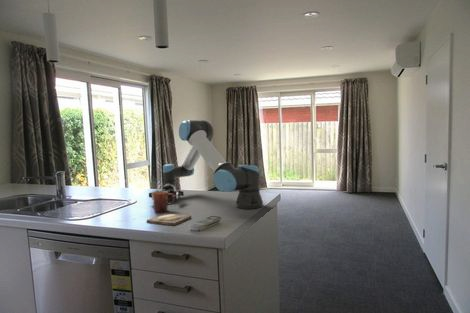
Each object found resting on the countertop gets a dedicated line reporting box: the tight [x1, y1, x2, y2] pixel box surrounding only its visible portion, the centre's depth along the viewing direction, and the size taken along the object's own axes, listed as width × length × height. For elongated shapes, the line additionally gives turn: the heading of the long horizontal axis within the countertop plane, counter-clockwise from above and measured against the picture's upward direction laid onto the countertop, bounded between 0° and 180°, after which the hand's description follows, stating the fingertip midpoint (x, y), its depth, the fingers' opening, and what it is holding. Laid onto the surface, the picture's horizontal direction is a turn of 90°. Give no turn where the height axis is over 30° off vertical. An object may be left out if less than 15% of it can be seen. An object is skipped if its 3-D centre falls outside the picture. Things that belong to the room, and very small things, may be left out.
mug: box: [152, 190, 175, 213], centre depth 180 cm, size 12×9×10 cm
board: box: [146, 212, 192, 227], centre depth 161 cm, size 16×14×2 cm
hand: (164, 196), depth 190 cm, fingers open, 13 cm apart
